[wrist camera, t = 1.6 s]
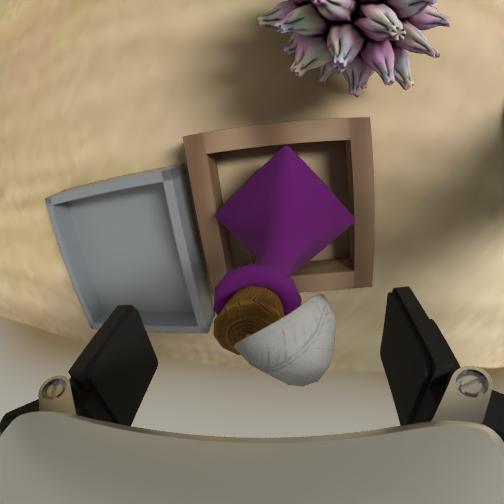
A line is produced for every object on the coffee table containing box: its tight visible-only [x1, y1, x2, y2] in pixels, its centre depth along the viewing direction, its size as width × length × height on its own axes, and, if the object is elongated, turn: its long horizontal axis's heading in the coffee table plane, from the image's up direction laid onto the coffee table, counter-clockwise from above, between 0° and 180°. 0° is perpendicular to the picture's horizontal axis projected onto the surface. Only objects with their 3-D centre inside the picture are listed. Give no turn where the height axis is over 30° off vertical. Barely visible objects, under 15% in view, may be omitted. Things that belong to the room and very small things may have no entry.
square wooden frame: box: [183, 117, 374, 297], centre depth 24 cm, size 14×14×2 cm
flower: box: [257, 0, 451, 97], centre depth 13 cm, size 12×12×12 cm
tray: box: [45, 164, 215, 333], centre depth 27 cm, size 14×15×3 cm
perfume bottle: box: [214, 146, 355, 386], centre depth 17 cm, size 8×8×18 cm
